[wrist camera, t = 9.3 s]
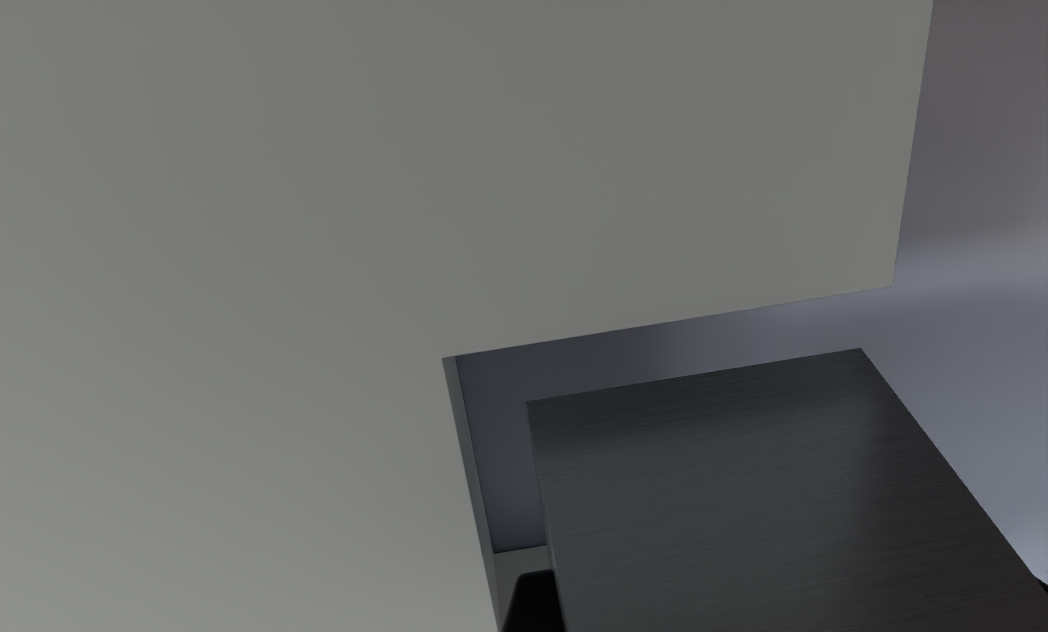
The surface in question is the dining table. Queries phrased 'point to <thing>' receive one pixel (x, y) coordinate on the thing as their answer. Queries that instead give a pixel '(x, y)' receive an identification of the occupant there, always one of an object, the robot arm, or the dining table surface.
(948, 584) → the steel block
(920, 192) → the dining table surface
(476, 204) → the notched board
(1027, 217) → the dining table surface
